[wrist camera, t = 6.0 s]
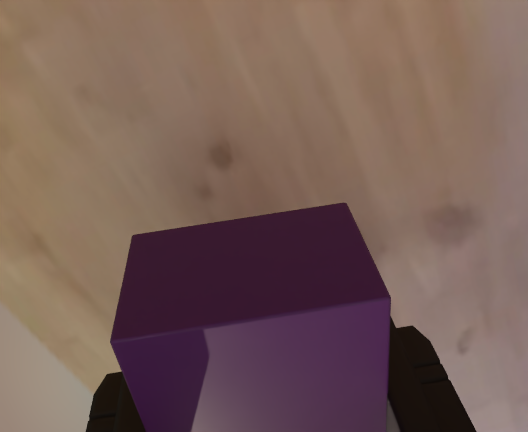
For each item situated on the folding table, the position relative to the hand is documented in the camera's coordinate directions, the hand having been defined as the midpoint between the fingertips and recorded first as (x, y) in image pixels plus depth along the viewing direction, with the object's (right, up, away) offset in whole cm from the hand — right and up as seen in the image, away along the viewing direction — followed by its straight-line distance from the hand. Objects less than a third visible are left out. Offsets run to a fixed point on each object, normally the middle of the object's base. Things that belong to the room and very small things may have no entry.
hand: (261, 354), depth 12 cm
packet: (0, 0, 0) cm, 1 cm away
